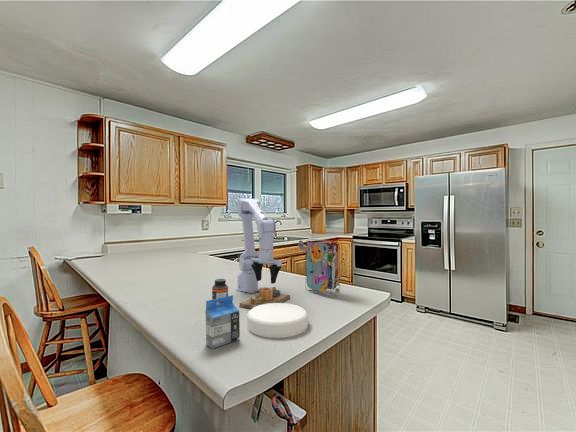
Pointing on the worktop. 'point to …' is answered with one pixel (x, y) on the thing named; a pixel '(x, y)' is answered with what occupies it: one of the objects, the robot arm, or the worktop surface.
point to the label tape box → (221, 322)
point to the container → (277, 320)
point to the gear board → (259, 300)
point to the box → (321, 265)
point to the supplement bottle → (219, 290)
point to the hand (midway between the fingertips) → (265, 281)
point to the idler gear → (266, 293)
